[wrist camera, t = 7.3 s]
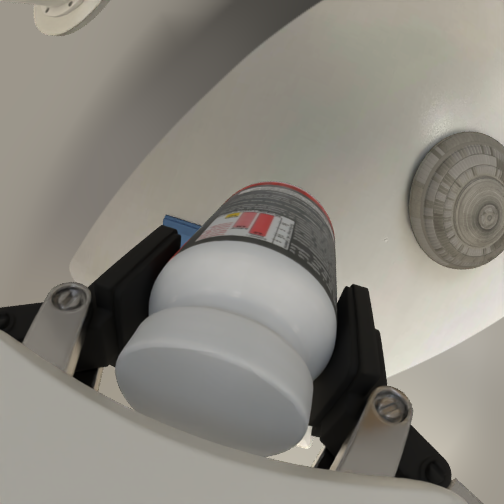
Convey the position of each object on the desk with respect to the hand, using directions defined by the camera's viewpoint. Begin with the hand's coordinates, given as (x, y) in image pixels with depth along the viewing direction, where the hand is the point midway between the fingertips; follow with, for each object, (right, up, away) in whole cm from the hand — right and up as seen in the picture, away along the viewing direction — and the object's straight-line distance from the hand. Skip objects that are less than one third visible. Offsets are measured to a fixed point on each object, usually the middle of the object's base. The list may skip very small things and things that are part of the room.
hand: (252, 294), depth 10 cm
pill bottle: (+1, +2, +4) cm, 5 cm away
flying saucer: (+23, +7, +15) cm, 28 cm away
